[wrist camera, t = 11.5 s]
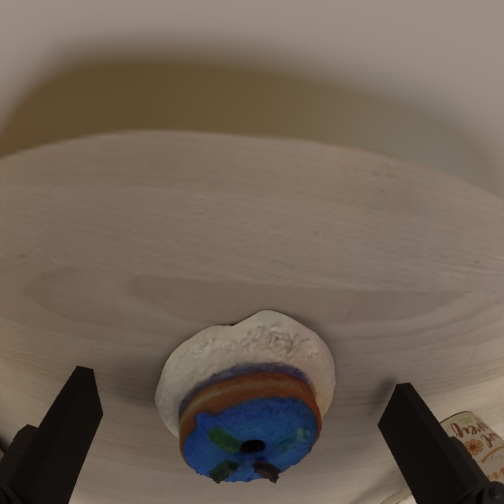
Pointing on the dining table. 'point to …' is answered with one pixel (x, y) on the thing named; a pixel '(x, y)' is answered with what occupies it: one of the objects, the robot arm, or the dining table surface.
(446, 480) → the robot arm
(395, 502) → the mug
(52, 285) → the dining table surface
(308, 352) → the dessert
